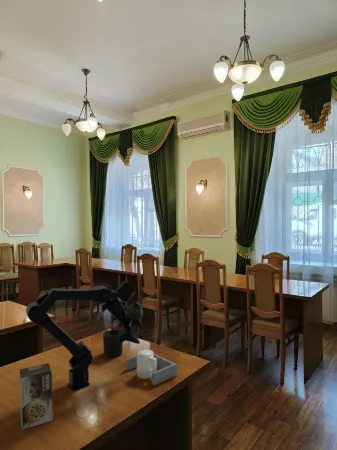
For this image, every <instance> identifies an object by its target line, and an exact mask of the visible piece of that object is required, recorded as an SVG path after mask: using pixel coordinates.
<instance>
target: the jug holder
mask: <svg viewBox="0 0 337 450" xmlns="http://www.w3.org/2000/svg"><path fill="white" fill-rule="evenodd" d="M153 357H155V358H157V371H155V372H153V373H152V377H151V385H152V386H156V385H158V384H160V383H163V382H165V381H167V380H169V379H172V378H174V377H176V376H178V364H177V363H175V362H173V361H171V360H169V359H167V358H165V357H162V356H159V355H158V354H156V353H154V352H153ZM135 368H136V369H137V354H136V355H133V356H130V357H128V358H126V359H125V370H126V371H130V370H132V369H133V370H134V369H135Z"/></svg>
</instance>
